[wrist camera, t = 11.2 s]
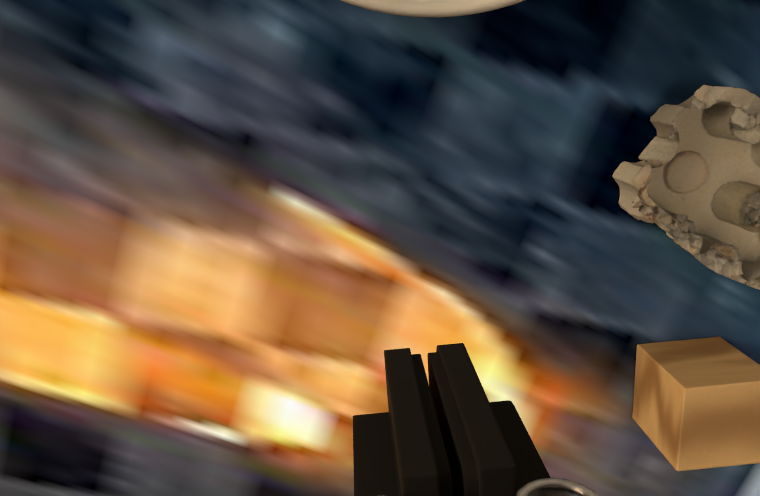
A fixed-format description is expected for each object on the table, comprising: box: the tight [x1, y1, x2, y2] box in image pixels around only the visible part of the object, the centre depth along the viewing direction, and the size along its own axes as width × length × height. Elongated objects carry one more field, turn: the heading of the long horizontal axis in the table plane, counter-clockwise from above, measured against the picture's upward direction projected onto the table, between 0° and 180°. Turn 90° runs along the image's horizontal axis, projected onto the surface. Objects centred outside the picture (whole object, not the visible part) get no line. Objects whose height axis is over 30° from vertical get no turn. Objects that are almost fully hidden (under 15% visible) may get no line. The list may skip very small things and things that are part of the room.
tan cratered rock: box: [613, 85, 760, 290], centre depth 29 cm, size 11×8×4 cm
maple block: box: [632, 337, 760, 471], centre depth 32 cm, size 5×5×5 cm
